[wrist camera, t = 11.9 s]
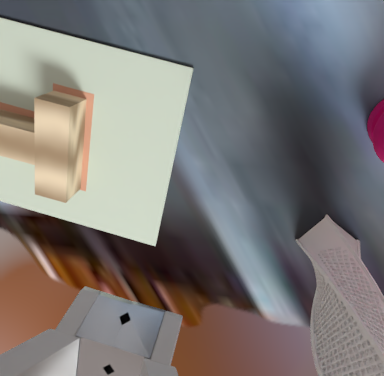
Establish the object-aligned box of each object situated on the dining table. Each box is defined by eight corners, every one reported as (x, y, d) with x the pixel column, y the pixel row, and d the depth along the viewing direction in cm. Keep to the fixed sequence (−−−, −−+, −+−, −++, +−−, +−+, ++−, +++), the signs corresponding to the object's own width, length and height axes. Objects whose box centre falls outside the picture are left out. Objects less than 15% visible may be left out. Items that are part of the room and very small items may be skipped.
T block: (-11, 73, 41) (-36, 79, 37) (86, 99, 40) (69, 107, 37) (-5, 164, 47) (-27, 177, 43) (80, 188, 46) (65, 203, 42)
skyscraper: (375, 242, 42) (538, 562, 18) (328, 276, 46) (409, 585, 21) (327, 203, 41) (430, 487, 16) (282, 241, 44) (312, 524, 20)
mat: (-26, 10, 38) (-28, 10, 38) (193, 68, 37) (193, 68, 37) (-13, 195, 50) (-15, 196, 49) (155, 244, 48) (155, 246, 48)
